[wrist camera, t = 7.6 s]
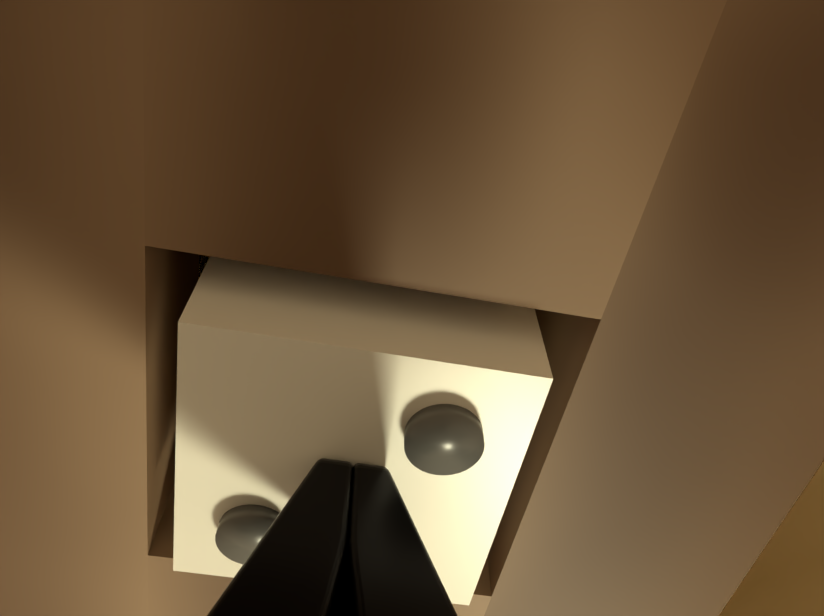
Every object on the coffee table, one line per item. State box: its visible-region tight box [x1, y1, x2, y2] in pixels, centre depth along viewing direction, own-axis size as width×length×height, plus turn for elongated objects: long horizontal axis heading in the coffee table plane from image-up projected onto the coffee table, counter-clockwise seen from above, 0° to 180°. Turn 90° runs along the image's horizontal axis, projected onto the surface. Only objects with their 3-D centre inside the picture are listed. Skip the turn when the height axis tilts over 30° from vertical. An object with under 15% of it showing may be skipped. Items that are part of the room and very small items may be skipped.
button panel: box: [0, 0, 824, 616], centre depth 10 cm, size 12×25×2 cm, turn 169°
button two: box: [173, 256, 553, 605], centre depth 10 cm, size 4×4×3 cm
